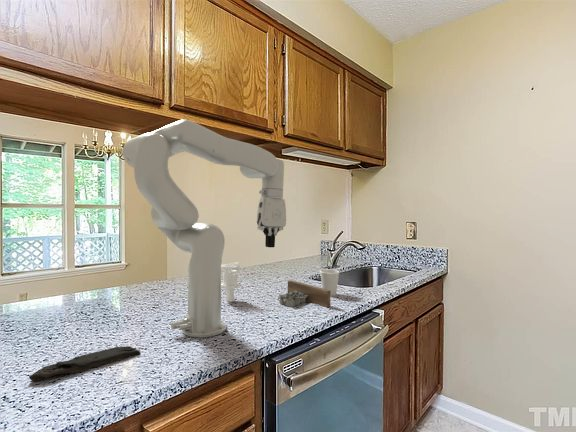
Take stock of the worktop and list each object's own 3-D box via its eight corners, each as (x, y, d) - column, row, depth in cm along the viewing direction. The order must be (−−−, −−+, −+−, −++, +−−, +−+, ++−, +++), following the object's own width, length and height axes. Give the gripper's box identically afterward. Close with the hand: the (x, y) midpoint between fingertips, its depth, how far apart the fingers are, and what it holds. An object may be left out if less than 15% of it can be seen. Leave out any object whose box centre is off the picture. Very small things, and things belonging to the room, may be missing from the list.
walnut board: (326, 307, 120) (326, 291, 120) (287, 295, 137) (287, 280, 137) (330, 306, 122) (330, 290, 122) (291, 294, 138) (291, 280, 138)
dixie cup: (342, 293, 141) (342, 270, 141) (334, 298, 134) (335, 273, 133) (324, 290, 145) (324, 268, 145) (316, 295, 138) (316, 271, 138)
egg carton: (289, 308, 120) (289, 297, 120) (276, 303, 125) (276, 293, 125) (309, 302, 127) (309, 292, 127) (295, 298, 133) (295, 288, 133)
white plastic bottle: (235, 303, 124) (236, 264, 123) (218, 302, 125) (218, 263, 125) (241, 298, 131) (241, 261, 130) (224, 297, 132) (224, 260, 131)
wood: (132, 346, 86) (132, 334, 86) (143, 355, 81) (143, 342, 81) (24, 376, 70) (24, 362, 70) (30, 390, 65) (30, 374, 65)
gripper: (261, 192, 106) (259, 248, 106) (295, 196, 116) (292, 247, 116) (248, 193, 112) (246, 246, 112) (281, 196, 122) (279, 245, 122)
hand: (269, 246), depth 114 cm, fingers closed
